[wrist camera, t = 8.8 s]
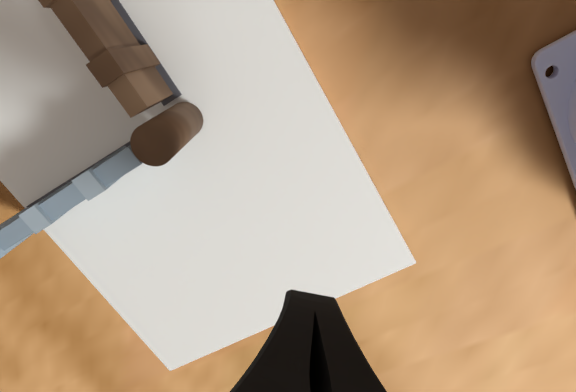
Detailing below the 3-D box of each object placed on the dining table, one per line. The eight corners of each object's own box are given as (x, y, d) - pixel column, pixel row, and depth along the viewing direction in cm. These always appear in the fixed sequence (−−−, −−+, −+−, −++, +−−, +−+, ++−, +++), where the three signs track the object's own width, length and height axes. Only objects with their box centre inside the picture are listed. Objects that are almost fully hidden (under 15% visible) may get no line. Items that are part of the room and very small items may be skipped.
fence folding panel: (33, 231, 21) (-19, 271, 18) (16, 213, 21) (-40, 250, 17) (170, 145, 19) (140, 171, 15) (154, 123, 18) (119, 145, 15)
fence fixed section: (210, 125, 19) (182, 153, 15) (182, 142, 19) (148, 173, 15) (67, -91, 16) (-16, -129, 12) (37, -66, 16) (-53, -94, 12)
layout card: (414, 260, 21) (416, 263, 21) (171, 367, 25) (169, 371, 25) (175, -181, 15) (172, -186, 14) (-104, 56, 19) (-112, 56, 18)
